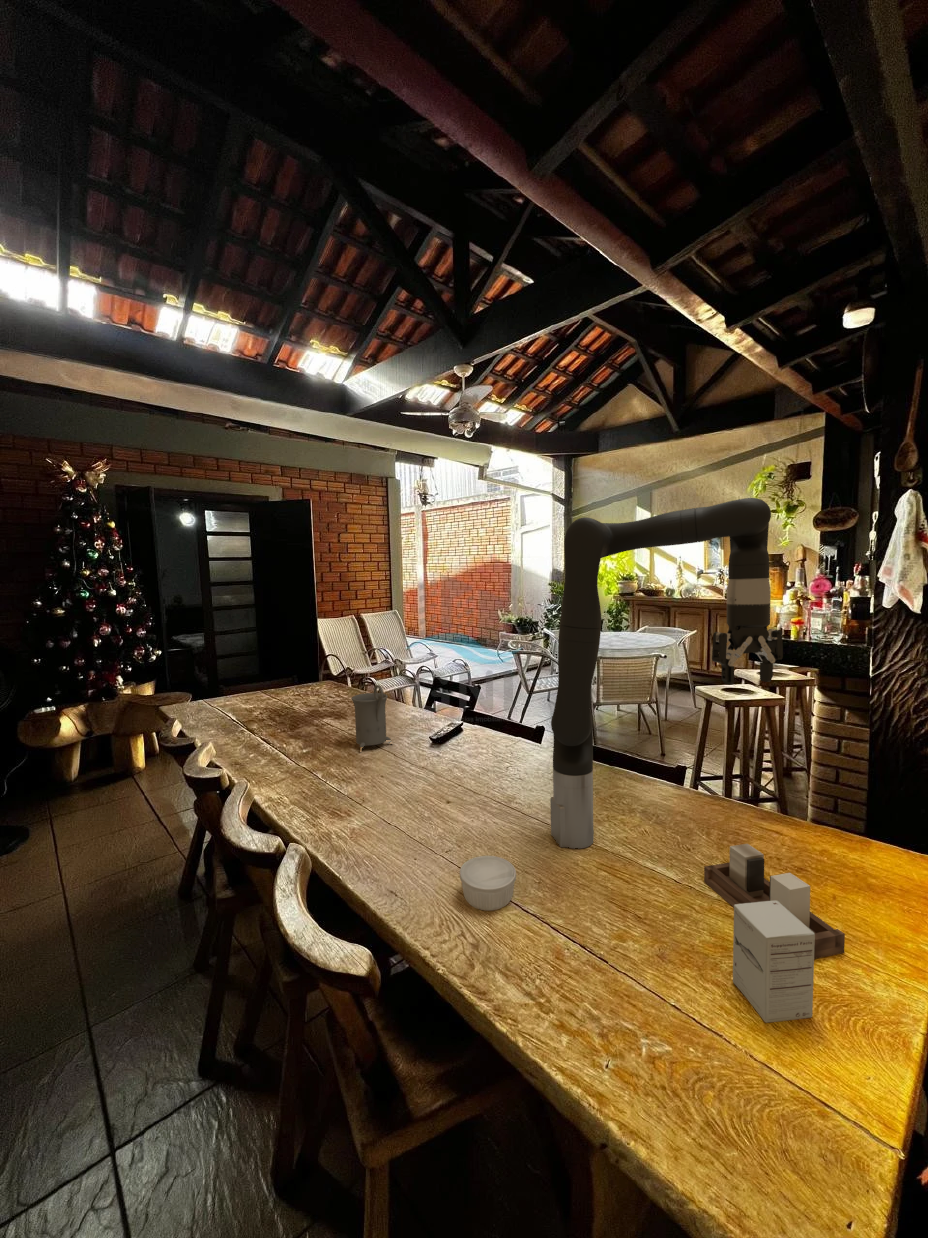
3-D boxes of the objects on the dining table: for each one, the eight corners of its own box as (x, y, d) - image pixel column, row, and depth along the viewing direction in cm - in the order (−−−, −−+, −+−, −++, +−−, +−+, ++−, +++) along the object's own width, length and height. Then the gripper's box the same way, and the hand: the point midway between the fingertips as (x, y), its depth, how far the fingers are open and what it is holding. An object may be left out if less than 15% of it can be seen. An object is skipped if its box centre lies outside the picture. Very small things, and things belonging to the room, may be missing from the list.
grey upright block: (789, 935, 83) (790, 889, 82) (767, 917, 87) (767, 874, 87) (809, 931, 84) (810, 886, 83) (786, 914, 88) (787, 870, 88)
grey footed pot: (344, 745, 193) (341, 682, 191) (378, 737, 202) (375, 676, 201) (366, 757, 178) (363, 689, 177) (401, 748, 188) (399, 683, 186)
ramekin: (500, 923, 90) (499, 895, 89) (449, 903, 96) (448, 877, 95) (526, 890, 99) (525, 864, 99) (478, 874, 105) (477, 850, 105)
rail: (797, 962, 79) (798, 907, 78) (704, 881, 100) (704, 837, 99) (844, 952, 80) (845, 898, 80) (742, 875, 102) (743, 832, 101)
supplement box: (730, 982, 75) (731, 902, 74) (776, 977, 76) (778, 898, 75) (764, 1025, 68) (765, 937, 67) (815, 1019, 68) (817, 932, 68)
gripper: (730, 603, 93) (729, 689, 94) (794, 601, 96) (793, 684, 97) (703, 602, 100) (703, 681, 101) (764, 600, 103) (763, 677, 104)
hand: (747, 682), depth 99 cm, fingers open, 8 cm apart
